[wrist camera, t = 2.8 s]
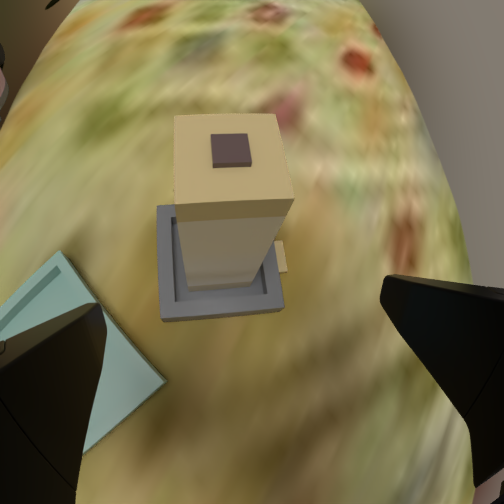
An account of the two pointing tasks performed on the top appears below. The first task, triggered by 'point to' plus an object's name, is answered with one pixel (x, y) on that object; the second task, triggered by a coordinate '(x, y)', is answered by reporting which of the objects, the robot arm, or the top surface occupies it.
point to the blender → (2, 81)
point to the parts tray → (116, 350)
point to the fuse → (228, 195)
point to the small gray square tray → (212, 301)
